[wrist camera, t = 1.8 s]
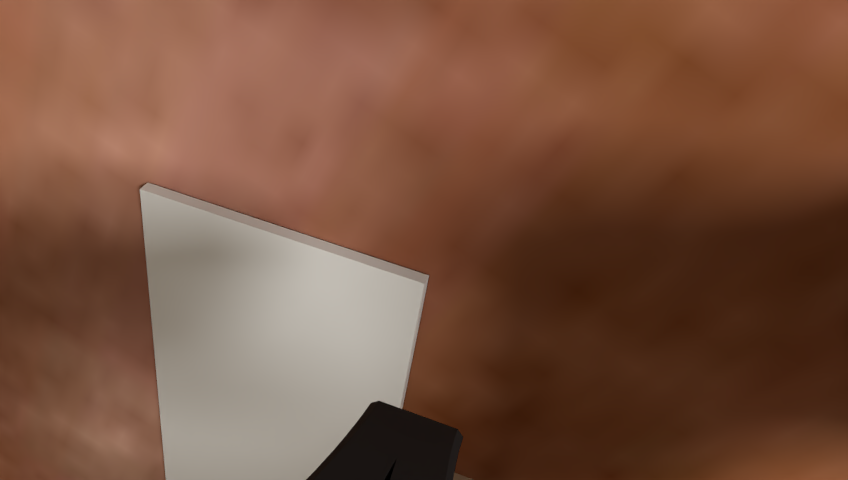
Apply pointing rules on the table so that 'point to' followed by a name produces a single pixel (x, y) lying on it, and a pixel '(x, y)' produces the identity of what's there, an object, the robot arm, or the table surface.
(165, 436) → the mat
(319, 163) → the table surface
